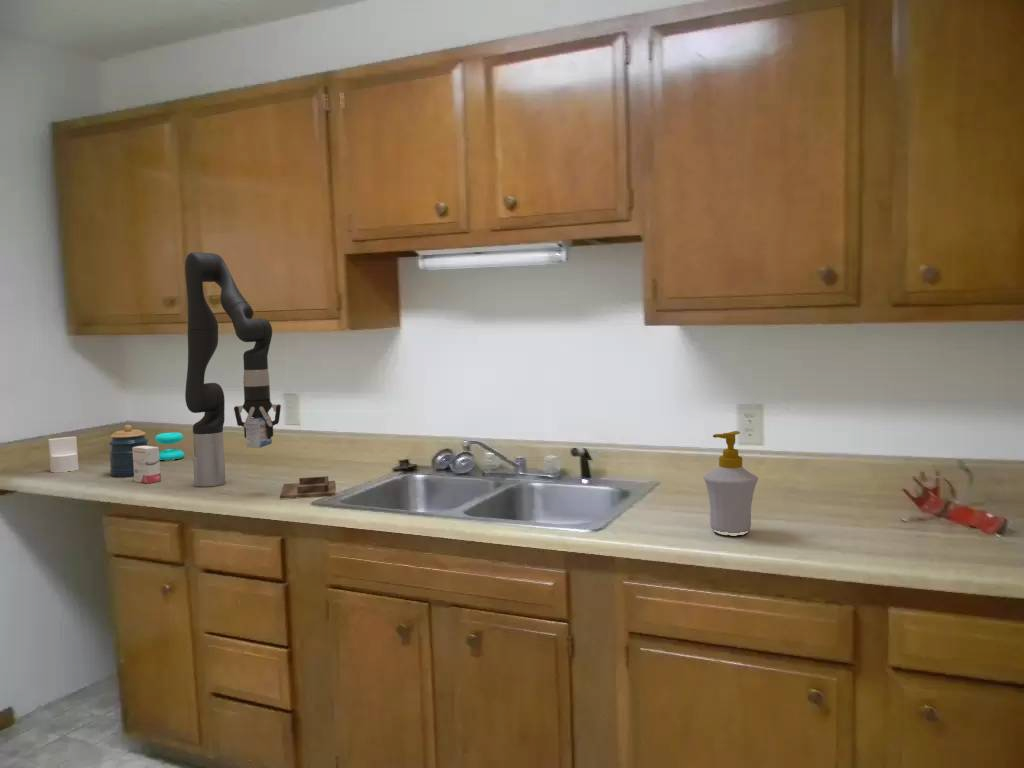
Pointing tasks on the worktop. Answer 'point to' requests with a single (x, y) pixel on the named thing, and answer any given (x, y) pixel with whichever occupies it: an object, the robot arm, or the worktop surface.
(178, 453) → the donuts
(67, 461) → the base with upright slab
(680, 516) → the worktop surface
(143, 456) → the ink box
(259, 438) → the medicine box
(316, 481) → the holder board
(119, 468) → the canister
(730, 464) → the soap bottle
